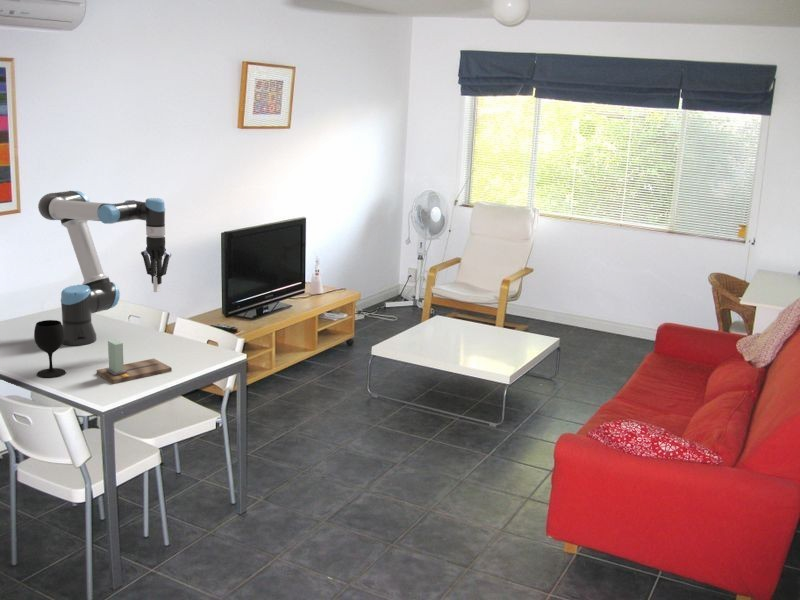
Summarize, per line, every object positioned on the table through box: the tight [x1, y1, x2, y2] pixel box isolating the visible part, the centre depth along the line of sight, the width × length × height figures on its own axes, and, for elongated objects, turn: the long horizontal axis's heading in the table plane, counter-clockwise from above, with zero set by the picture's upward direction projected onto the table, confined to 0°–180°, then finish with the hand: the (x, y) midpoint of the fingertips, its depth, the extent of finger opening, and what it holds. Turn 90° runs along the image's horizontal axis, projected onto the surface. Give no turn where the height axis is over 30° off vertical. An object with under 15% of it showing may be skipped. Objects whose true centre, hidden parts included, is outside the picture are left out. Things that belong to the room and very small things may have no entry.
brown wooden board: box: [96, 358, 173, 385], centre depth 323 cm, size 24×14×2 cm, turn 134°
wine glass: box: [33, 319, 67, 379], centre depth 315 cm, size 10×10×20 cm
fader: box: [105, 339, 127, 375], centre depth 316 cm, size 5×7×12 cm
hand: (156, 291), depth 350 cm, fingers closed
